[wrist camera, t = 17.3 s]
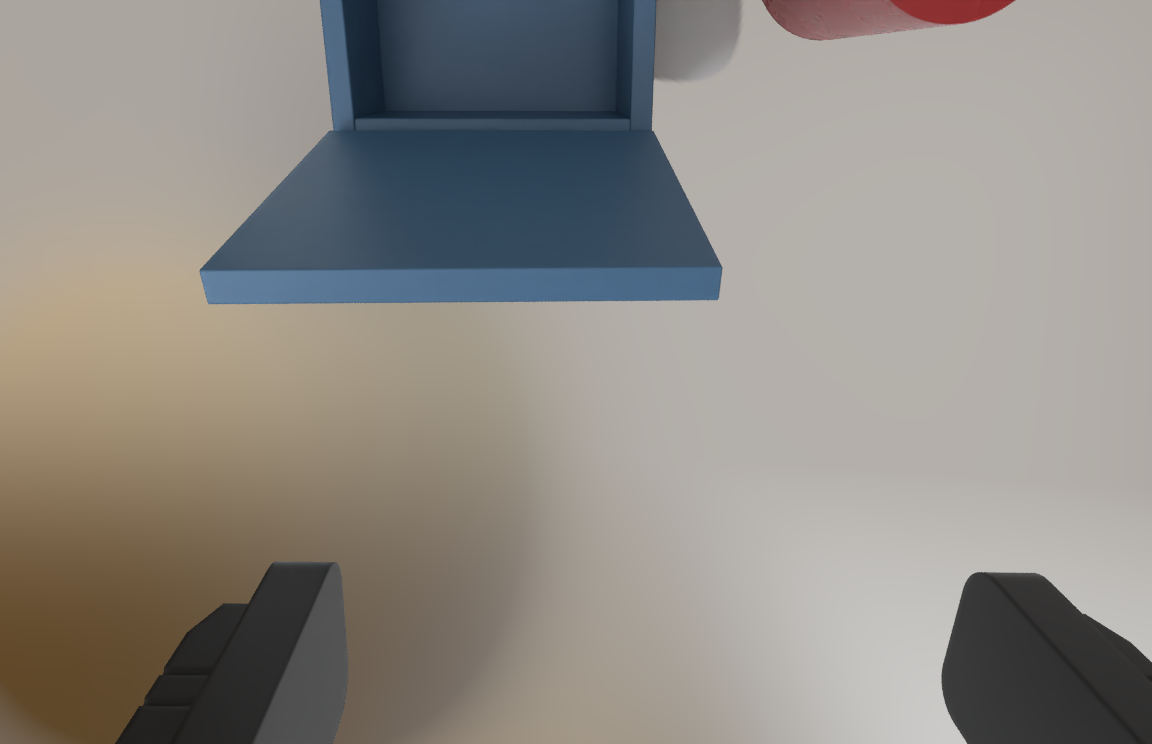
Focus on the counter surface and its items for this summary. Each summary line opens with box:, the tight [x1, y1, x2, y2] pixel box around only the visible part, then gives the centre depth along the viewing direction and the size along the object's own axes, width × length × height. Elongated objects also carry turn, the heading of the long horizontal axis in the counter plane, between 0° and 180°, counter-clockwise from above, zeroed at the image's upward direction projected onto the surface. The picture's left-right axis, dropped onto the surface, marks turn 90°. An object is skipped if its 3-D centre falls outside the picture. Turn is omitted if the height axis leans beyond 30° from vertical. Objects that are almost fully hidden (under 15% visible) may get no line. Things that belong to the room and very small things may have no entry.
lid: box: [200, 131, 722, 304], centre depth 22 cm, size 12×12×1 cm
